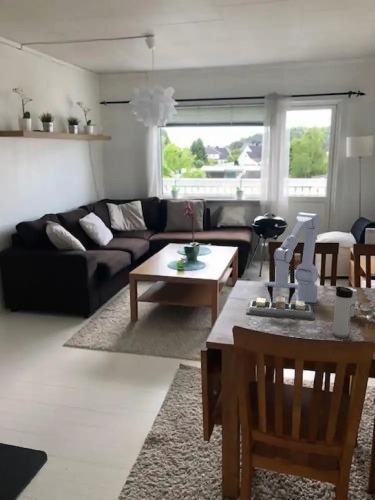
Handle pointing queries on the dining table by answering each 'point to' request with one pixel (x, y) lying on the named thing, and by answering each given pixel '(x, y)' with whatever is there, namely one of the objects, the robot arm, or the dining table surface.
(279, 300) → the birch block
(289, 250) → the robot arm
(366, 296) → the dining table surface
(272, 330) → the dining table surface
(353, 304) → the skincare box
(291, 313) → the rail
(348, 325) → the travel mug
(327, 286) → the dining table surface
